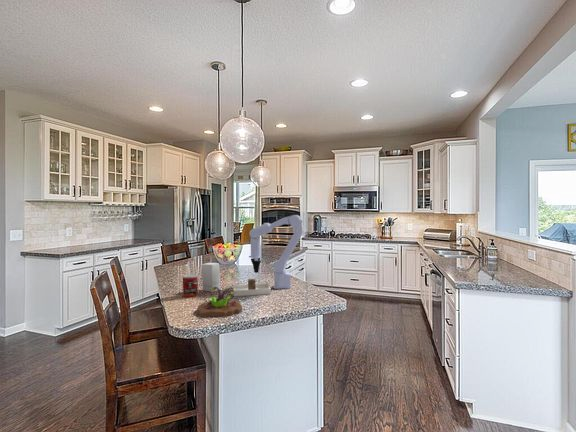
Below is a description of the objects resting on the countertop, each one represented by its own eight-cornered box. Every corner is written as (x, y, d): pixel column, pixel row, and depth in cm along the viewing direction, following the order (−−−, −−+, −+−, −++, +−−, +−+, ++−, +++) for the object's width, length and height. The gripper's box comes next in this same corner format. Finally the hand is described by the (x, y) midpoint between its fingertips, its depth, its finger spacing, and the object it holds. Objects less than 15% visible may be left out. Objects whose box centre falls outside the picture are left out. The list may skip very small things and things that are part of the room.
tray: (268, 287, 183) (268, 283, 183) (270, 293, 170) (270, 288, 170) (234, 289, 180) (233, 285, 180) (233, 296, 167) (233, 290, 167)
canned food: (182, 298, 164) (182, 277, 164) (183, 294, 172) (183, 274, 172) (197, 297, 166) (197, 276, 166) (198, 293, 174) (197, 273, 174)
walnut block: (255, 289, 177) (255, 278, 177) (255, 291, 173) (255, 280, 173) (248, 289, 177) (247, 279, 177) (248, 291, 173) (248, 280, 173)
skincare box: (220, 289, 181) (220, 263, 181) (212, 292, 175) (211, 264, 175) (210, 288, 185) (209, 262, 185) (201, 290, 180) (201, 263, 180)
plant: (197, 307, 150) (196, 283, 149) (238, 303, 155) (237, 280, 155) (197, 320, 130) (196, 293, 130) (244, 315, 136) (243, 289, 136)
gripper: (248, 247, 193) (248, 269, 193) (249, 250, 178) (249, 273, 178) (259, 247, 194) (260, 268, 194) (261, 249, 179) (261, 273, 180)
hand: (256, 271), depth 186 cm, fingers open, 7 cm apart
